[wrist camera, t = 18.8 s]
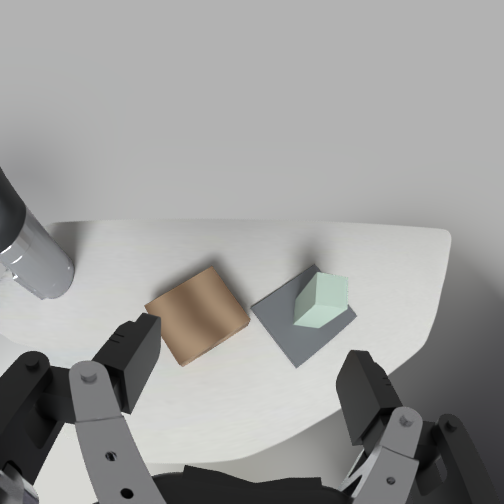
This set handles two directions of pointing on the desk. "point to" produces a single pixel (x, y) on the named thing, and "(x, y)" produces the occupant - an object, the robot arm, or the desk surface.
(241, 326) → the walnut block
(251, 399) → the desk surface
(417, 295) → the desk surface
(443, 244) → the desk surface
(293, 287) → the charcoal mat
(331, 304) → the sage block
